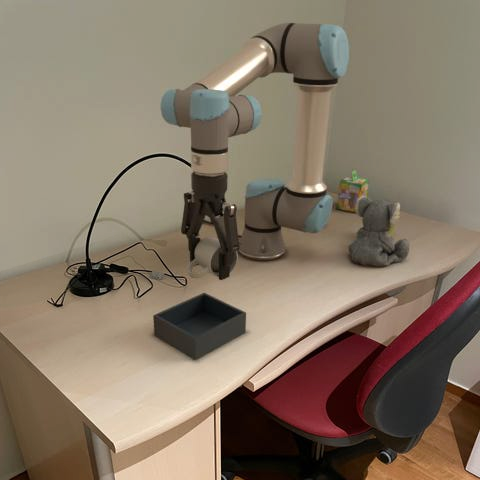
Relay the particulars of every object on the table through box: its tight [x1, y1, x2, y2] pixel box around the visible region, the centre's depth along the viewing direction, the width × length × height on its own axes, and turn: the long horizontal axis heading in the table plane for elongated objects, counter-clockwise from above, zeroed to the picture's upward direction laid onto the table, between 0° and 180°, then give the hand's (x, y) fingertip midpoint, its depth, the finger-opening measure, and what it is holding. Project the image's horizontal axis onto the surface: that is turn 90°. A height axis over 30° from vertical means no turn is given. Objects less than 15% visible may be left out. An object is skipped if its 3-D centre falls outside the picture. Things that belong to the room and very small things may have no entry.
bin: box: [152, 292, 247, 361], centre depth 123 cm, size 14×16×6 cm
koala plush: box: [347, 196, 410, 267], centre depth 161 cm, size 17×18×20 cm
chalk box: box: [336, 169, 370, 213], centre depth 205 cm, size 9×9×15 cm
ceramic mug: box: [186, 236, 239, 279], centre depth 116 cm, size 11×8×8 cm
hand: (209, 271), depth 118 cm, fingers closed on ceramic mug, 9 cm apart
